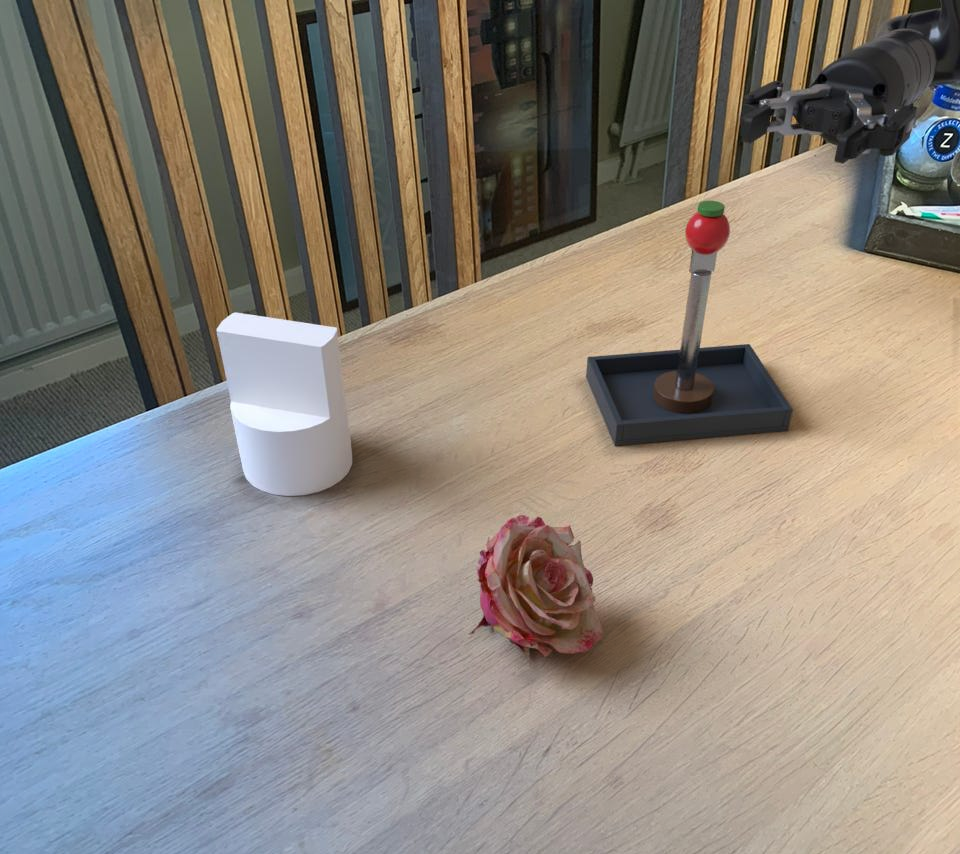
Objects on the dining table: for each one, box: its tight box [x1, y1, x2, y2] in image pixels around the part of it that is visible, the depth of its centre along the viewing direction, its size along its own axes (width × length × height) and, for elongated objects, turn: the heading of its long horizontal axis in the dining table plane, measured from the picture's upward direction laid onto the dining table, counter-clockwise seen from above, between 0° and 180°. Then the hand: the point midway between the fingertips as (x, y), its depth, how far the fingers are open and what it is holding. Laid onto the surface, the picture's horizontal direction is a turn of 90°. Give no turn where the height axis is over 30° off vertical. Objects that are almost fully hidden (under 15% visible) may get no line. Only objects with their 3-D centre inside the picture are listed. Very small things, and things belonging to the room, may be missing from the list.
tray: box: [585, 343, 794, 447], centre depth 90 cm, size 15×11×2 cm
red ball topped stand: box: [653, 200, 731, 413], centre depth 85 cm, size 5×5×17 cm
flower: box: [468, 514, 604, 668], centre depth 68 cm, size 10×9×8 cm
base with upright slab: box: [216, 311, 353, 497], centre depth 81 cm, size 9×9×12 cm
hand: (792, 140), depth 87 cm, fingers open, 8 cm apart
